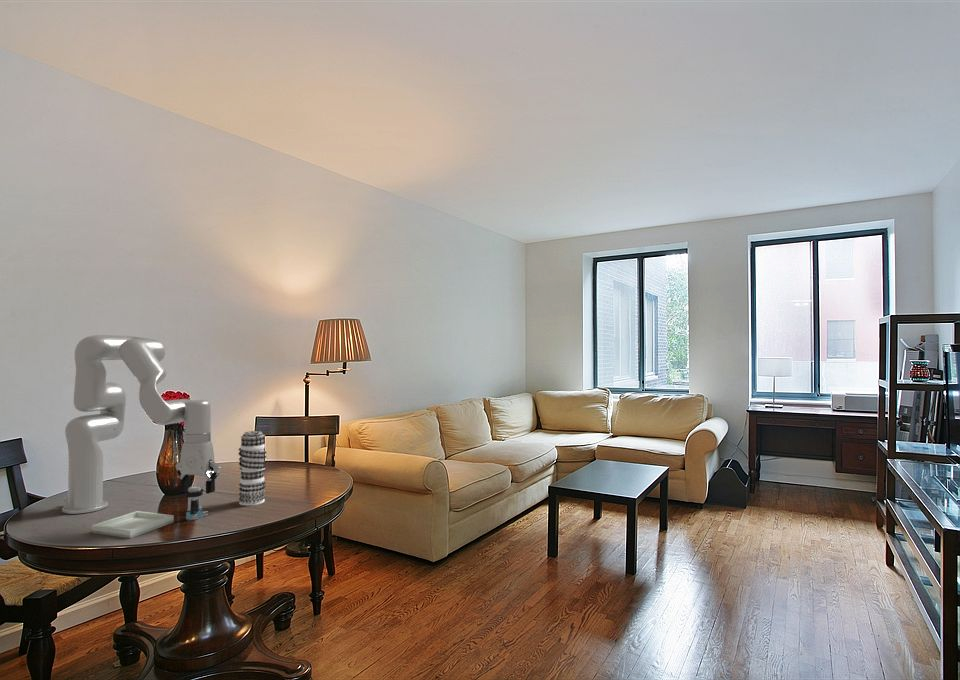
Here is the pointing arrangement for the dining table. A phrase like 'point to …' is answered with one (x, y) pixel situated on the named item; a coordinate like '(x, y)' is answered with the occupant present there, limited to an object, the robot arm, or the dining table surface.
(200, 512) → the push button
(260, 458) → the decorative candle
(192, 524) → the dining table surface
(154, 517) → the tray
